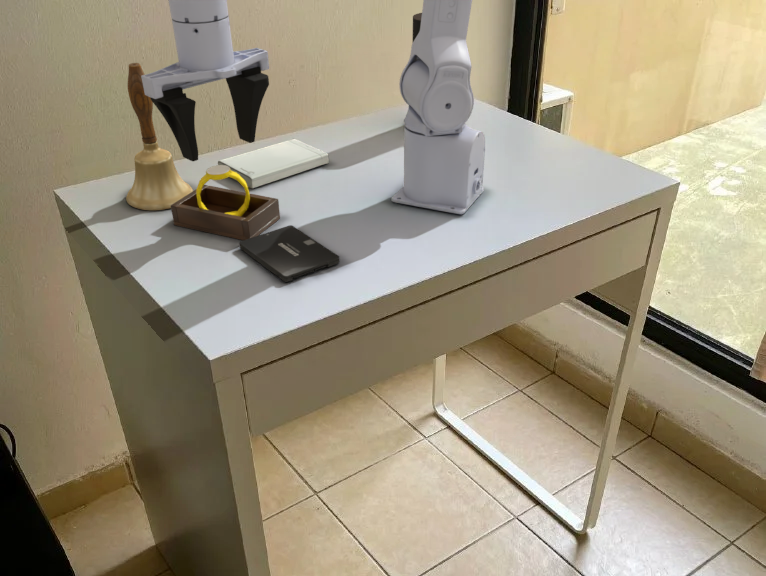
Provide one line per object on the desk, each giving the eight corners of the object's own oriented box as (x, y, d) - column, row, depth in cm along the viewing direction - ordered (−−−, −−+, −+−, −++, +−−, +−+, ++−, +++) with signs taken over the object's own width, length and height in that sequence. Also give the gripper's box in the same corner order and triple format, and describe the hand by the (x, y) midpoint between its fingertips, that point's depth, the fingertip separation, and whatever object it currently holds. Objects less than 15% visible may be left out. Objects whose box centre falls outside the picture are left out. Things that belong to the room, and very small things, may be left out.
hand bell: (207, 195, 97) (185, 62, 88) (151, 217, 93) (121, 78, 83) (169, 178, 102) (144, 49, 92) (113, 197, 97) (81, 64, 87)
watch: (251, 210, 93) (245, 162, 89) (253, 220, 91) (247, 171, 87) (200, 215, 92) (192, 166, 88) (201, 225, 90) (192, 176, 86)
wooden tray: (280, 218, 92) (278, 198, 91) (250, 241, 87) (247, 221, 86) (206, 203, 96) (203, 184, 94) (173, 225, 91) (170, 205, 89)
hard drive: (251, 177, 98) (328, 152, 104) (216, 159, 103) (292, 136, 109) (253, 190, 99) (329, 164, 105) (218, 171, 104) (293, 148, 110)
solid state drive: (291, 230, 89) (291, 224, 89) (341, 262, 83) (340, 257, 83) (238, 247, 86) (237, 241, 86) (285, 283, 80) (285, 277, 79)
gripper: (158, 37, 72) (183, 177, 80) (281, 10, 80) (292, 141, 88) (120, 24, 76) (148, 159, 84) (240, 0, 84) (255, 126, 92)
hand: (219, 149), depth 87 cm, fingers open, 7 cm apart
